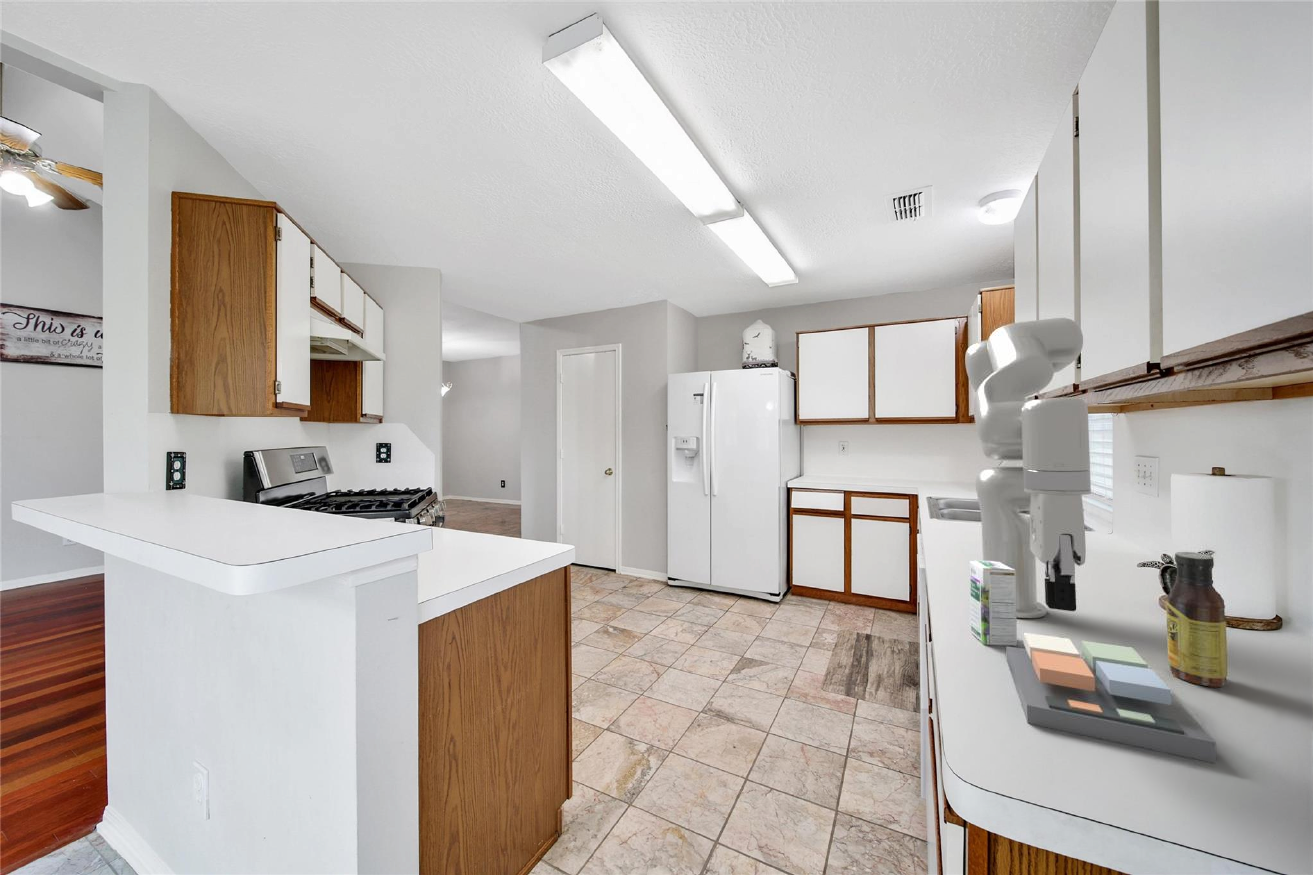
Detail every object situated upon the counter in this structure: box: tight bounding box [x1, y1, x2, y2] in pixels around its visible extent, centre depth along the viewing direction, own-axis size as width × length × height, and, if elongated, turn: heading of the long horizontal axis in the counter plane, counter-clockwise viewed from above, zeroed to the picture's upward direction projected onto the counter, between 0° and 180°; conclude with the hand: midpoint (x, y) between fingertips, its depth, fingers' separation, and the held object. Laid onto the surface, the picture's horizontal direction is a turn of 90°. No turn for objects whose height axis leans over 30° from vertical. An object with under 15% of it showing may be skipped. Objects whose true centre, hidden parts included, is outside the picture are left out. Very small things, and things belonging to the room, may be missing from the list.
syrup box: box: [969, 560, 1018, 647], centre depth 92 cm, size 6×6×14 cm
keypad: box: [1005, 645, 1217, 764], centre depth 70 cm, size 20×18×3 cm
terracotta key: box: [1032, 651, 1095, 691], centre depth 70 cm, size 6×6×2 cm
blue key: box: [1096, 661, 1172, 705], centre depth 66 cm, size 6×6×2 cm
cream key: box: [1023, 632, 1081, 660], centre depth 77 cm, size 6×6×2 cm
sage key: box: [1081, 640, 1149, 670], centre depth 73 cm, size 6×6×2 cm
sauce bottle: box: [1165, 551, 1228, 688], centre depth 75 cm, size 7×6×20 cm
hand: (1060, 607), depth 70 cm, fingers closed
